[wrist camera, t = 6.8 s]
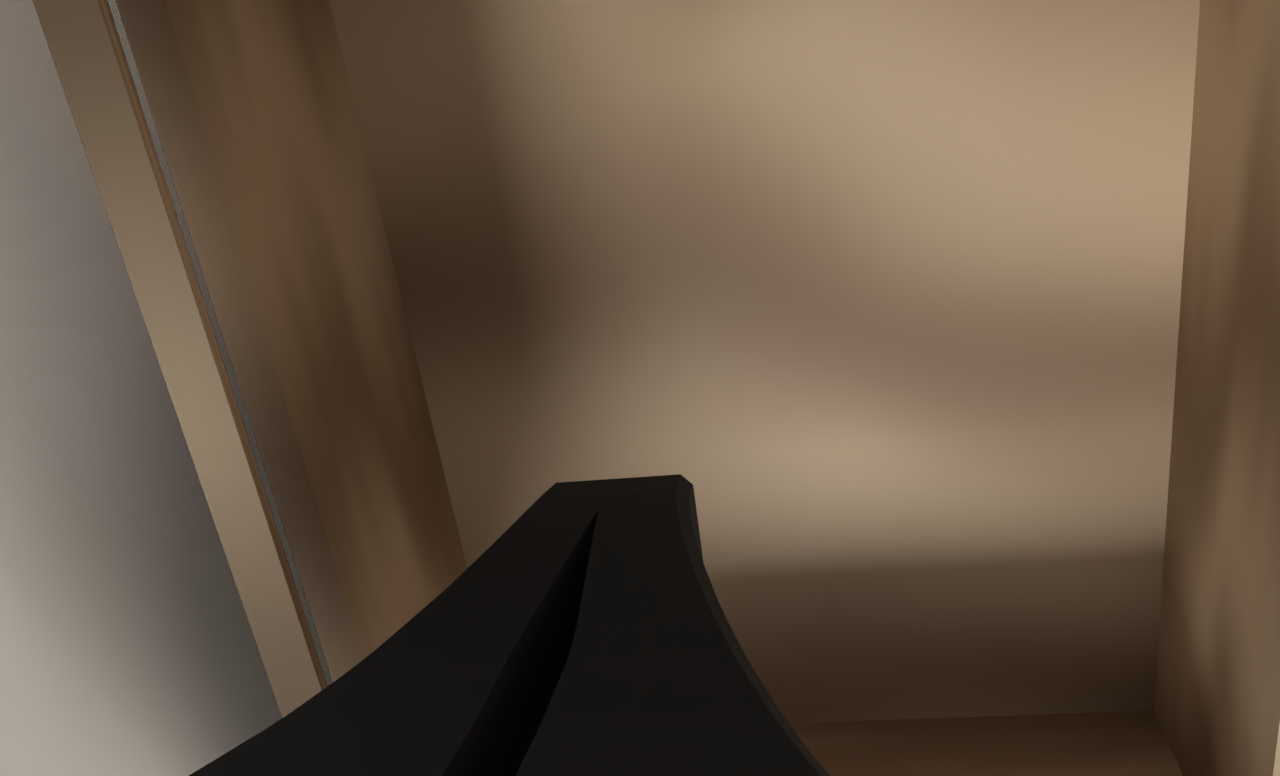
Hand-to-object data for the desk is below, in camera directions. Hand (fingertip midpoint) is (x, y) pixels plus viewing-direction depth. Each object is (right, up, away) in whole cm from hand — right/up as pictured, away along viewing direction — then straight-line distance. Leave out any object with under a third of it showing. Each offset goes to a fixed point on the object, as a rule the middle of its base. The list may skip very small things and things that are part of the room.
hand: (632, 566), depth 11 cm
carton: (+2, +3, +5) cm, 7 cm away
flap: (-4, 0, +2) cm, 5 cm away
